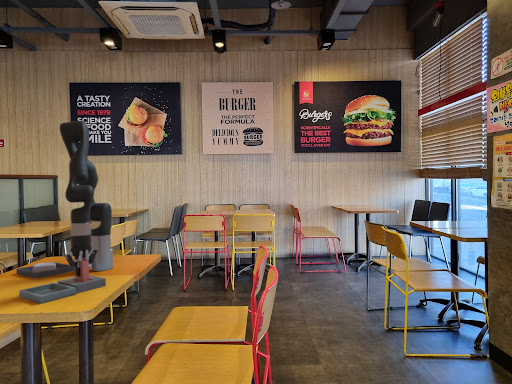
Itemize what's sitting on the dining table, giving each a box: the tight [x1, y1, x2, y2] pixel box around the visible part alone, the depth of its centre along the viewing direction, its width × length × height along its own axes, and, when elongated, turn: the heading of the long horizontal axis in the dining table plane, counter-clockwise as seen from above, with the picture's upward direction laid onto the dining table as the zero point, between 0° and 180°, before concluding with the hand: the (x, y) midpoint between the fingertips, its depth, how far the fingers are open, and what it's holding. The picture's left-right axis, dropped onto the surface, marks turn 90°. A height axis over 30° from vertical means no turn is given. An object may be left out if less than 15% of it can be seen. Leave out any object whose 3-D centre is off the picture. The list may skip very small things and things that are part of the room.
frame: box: [15, 261, 75, 279], centre depth 175 cm, size 18×19×2 cm
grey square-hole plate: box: [57, 274, 107, 294], centre depth 147 cm, size 12×14×4 cm
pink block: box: [74, 260, 90, 282], centre depth 147 cm, size 2×6×10 cm, turn 57°
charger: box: [32, 261, 57, 273], centre depth 175 cm, size 5×9×15 cm
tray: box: [18, 281, 77, 305], centre depth 136 cm, size 13×16×2 cm
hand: (81, 275), depth 147 cm, fingers closed on pink block, 2 cm apart
